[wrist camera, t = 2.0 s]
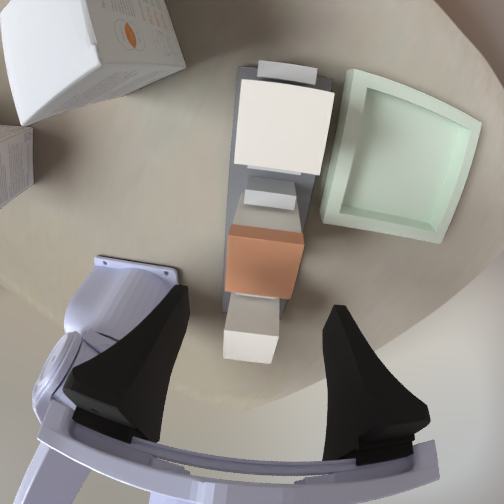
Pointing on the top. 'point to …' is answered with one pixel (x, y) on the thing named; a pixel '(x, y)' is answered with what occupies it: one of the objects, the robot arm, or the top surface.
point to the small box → (84, 52)
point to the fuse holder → (262, 178)
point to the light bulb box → (15, 161)
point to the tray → (397, 160)
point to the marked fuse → (263, 250)
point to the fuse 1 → (251, 328)
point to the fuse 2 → (282, 126)
